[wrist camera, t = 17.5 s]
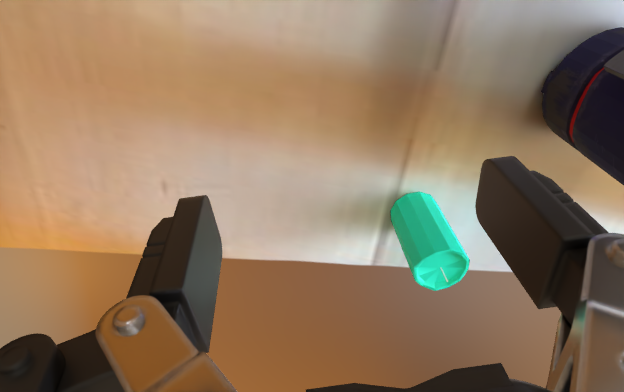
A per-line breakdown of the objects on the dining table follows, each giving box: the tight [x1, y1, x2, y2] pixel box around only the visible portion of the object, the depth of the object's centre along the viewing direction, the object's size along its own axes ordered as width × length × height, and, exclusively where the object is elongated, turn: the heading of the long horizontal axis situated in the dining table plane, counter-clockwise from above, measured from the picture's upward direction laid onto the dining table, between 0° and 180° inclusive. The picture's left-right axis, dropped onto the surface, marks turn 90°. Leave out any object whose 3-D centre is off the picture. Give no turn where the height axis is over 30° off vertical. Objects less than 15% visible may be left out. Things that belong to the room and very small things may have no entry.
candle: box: [390, 192, 470, 291], centre depth 46 cm, size 6×6×12 cm
